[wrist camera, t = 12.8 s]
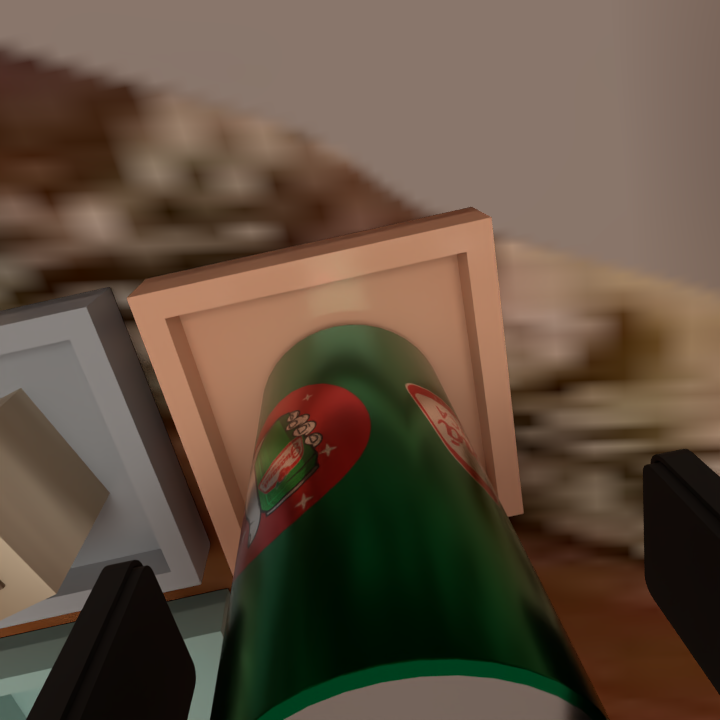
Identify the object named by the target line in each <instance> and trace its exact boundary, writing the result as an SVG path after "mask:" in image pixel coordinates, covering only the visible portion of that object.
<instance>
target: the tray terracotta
mask: <svg viewBox="0 0 720 720" xmlns="http://www.w3.org/2000/svg"><path fill="white" fill-rule="evenodd" d="M127 300H128V303H129V305H130V308H131V311H132V313H133V316H134V318H135V321H136V324H137V326H138V329H139V332H140V334H141V337H142V339H143V342H144V345H145V347H146V350H147V353H148V355H149V358H150V360H151V363H152V366H153V368H154V371H155V373H156V376H157V379H158V381H159V384H160V387H161V389H162V392H163V394H164V397H165V400H166V402H167V405H168V407H169V410H170V413H171V415H172V418H173V421H174V423H175V426H176V428H177V431H178V434H179V436H180V439H181V441H182V444H183V447H184V449H185V452H186V455H187V457H188V460H189V462H190V465H191V468H192V470H193V473H194V475H195V478H196V481H197V483H198V486H199V489H200V491H201V494H202V496H203V499H204V502H205V504H206V507H207V509H208V512H209V515H210V517H211V520H212V523H213V525H214V528H215V530H216V533H217V536H218V538H219V541H220V543H221V546H222V549H223V551H224V554H225V557H226V559H227V562H228V564H229V567H230V570H231V572H232V575H233V576H234V570H235V564H236V558H237V552H238V546H239V540H240V534H241V527H242V521H243V515H244V509H245V503H246V497H247V491H248V485H249V479H250V473H251V467H252V461H253V455H254V448H255V442H256V436H257V430H258V424H259V418H260V412H261V406H262V400H263V394H264V389H265V386H266V383H267V380H268V378H269V376H270V374H271V372H272V370H273V369H274V367H275V365H276V364H277V363H278V361H279V360H280V359H281V358H282V356H283V355H284V354H285V353H286V352H287V351H288V350H289V349H291V348H292V347H293V346H294V345H295V344H297V343H298V342H300V341H301V340H303V339H304V338H306V337H308V336H310V335H312V334H314V333H316V332H319V331H321V330H325V329H328V328H332V327H336V326H344V325H367V326H373V327H379V328H382V329H385V330H388V331H391V332H393V333H395V334H397V335H399V336H401V337H403V338H405V339H406V340H408V341H409V342H410V343H412V344H413V345H414V346H416V347H417V348H418V349H419V350H420V352H421V353H422V354H423V355H424V356H425V357H426V358H427V360H428V361H429V363H430V364H431V366H432V367H433V369H434V371H435V373H436V375H437V377H438V379H439V381H440V383H441V385H442V387H443V389H444V391H445V393H446V395H447V397H448V399H449V401H450V403H451V405H452V407H453V409H454V411H455V413H456V415H457V417H458V419H459V421H460V423H461V425H462V427H463V429H464V431H465V433H466V435H467V437H468V439H469V441H470V443H471V445H472V447H473V449H474V451H475V453H476V455H477V457H478V459H479V461H480V463H481V465H482V467H483V469H484V471H485V473H486V475H487V477H488V479H489V481H490V482H491V484H492V486H493V488H494V490H495V492H496V494H497V496H498V498H499V500H500V502H501V504H502V506H503V508H504V510H505V512H506V514H507V516H508V517H510V516H514V515H519V514H523V513H524V511H523V502H522V493H521V484H520V475H519V465H518V456H517V447H516V438H515V429H514V420H513V411H512V402H511V392H510V383H509V374H508V365H507V356H506V347H505V338H504V328H503V319H502V310H501V301H500V292H499V283H498V274H497V264H496V255H495V246H494V237H493V228H492V219H491V217H490V216H488V215H486V214H484V213H482V212H480V211H478V210H477V209H475V208H473V207H469V208H464V209H460V210H455V211H451V212H446V213H442V214H437V215H433V216H428V217H424V218H419V219H415V220H410V221H406V222H401V223H396V224H392V225H387V226H383V227H378V228H374V229H369V230H365V231H360V232H356V233H351V234H347V235H342V236H338V237H333V238H329V239H324V240H320V241H315V242H311V243H306V244H302V245H297V246H293V247H288V248H283V249H279V250H274V251H270V252H265V253H261V254H256V255H252V256H247V257H243V258H238V259H234V260H229V261H225V262H220V263H216V264H211V265H207V266H202V267H198V268H193V269H189V270H184V271H180V272H175V273H171V274H166V275H161V276H157V277H152V278H148V279H145V280H144V281H143V282H142V283H141V284H140V285H139V286H138V287H137V288H136V289H135V290H134V291H133V292H132V293H131V294H130V295H129V296H128V297H127Z"/></svg>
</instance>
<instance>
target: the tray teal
mask: <svg viewBox="0 0 720 720" xmlns="http://www.w3.org/2000/svg"><path fill="white" fill-rule="evenodd" d="M229 600H230V592H229V590H228V589H223V590H219V591H214V592H210V593H205V594H201V595H196V596H191V597H187V598H182V599H178V600H173V601H169V602H167V604H168V606H169V608H170V610H171V613H172V615H173V617H174V619H175V622H176V624H177V626H178V629H179V631H180V633H181V635H182V638H183V640H184V642H185V644H186V647H187V649H188V651H189V654H190V656H191V658H192V660H193V663H194V666H195V670H196V684H195V689H194V694H193V698H192V702H191V706H190V711H189V715H188V719H187V720H210V716H211V710H212V704H213V697H214V691H215V685H216V679H217V673H218V667H219V661H220V655H221V649H222V643H223V637H224V631H225V625H226V619H227V612H228V606H229ZM74 624H75V622H73V623H68V624H64V625H59V626H55V627H50V628H46V629H41V630H37V631H32V632H28V633H23V634H18V635H14V636H9V637H5V638H0V720H26V718H27V716H28V714H29V712H30V711H31V709H32V707H33V705H34V703H35V701H36V699H37V697H38V695H39V693H40V691H41V689H42V687H43V685H44V683H45V681H46V679H47V677H48V675H49V673H50V671H51V669H52V667H53V665H54V663H55V661H56V659H57V657H58V655H59V654H60V652H61V650H62V648H63V646H64V644H65V642H66V640H67V638H68V636H69V634H70V632H71V630H72V628H73V626H74Z"/></svg>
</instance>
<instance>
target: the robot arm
mask: <svg viewBox="0 0 720 720" xmlns="http://www.w3.org/2000/svg"><path fill="white" fill-rule="evenodd" d="M643 504H644V564H645V580H646V584H647V587H648V590H649V592H650V594H651V596H652V597H653V599H654V600H655V602H656V603H657V605H658V606H659V607H660V609H661V610H662V612H663V613H664V615H665V616H666V618H667V619H668V621H669V622H670V623H671V625H672V626H673V628H674V629H675V631H676V632H677V634H678V635H679V636H680V638H681V639H682V641H683V642H684V644H685V645H686V647H687V648H688V650H689V651H690V652H691V654H692V655H693V657H694V658H695V660H696V661H697V663H698V664H699V665H700V667H701V668H702V670H703V671H704V673H705V674H706V676H707V677H708V679H709V680H710V681H711V683H712V684H713V686H714V687H715V689H716V690H717V692H718V693H719V694H720V477H719V476H718V475H717V474H716V473H715V472H714V471H713V470H711V469H710V468H709V467H708V466H707V465H706V464H705V463H704V462H703V461H701V460H700V459H699V458H698V457H697V456H696V455H695V454H694V453H692V452H691V451H689V450H688V449H681V450H676V451H671V452H666V453H661V454H656V455H654V456H653V457H652V459H651V464H648V465H645V466H644V468H643ZM195 684H196V670H195V666H194V663H193V660H192V658H191V656H190V654H189V651H188V649H187V647H186V644H185V642H184V640H183V638H182V635H181V633H180V631H179V629H178V626H177V624H176V622H175V619H174V617H173V615H172V613H171V610H170V608H169V606H168V604H167V601H166V599H165V597H164V594H163V592H162V590H161V588H160V585H159V583H158V581H157V579H156V576H155V574H154V572H153V570H152V568H151V567H150V566H148V565H146V566H143V565H142V563H141V562H140V561H139V560H131V561H126V562H121V563H116V564H111V565H107V566H105V567H104V568H103V570H102V571H101V573H100V575H99V577H98V579H97V581H96V583H95V585H94V587H93V589H92V591H91V593H90V595H89V597H88V598H87V600H86V602H85V604H84V606H83V608H82V610H81V612H80V614H79V616H78V618H77V620H76V622H75V624H74V626H73V628H72V630H71V632H70V634H69V636H68V638H67V640H66V642H65V644H64V646H63V648H62V650H61V652H60V654H59V655H58V657H57V659H56V661H55V663H54V665H53V667H52V669H51V671H50V673H49V675H48V677H47V679H46V681H45V683H44V685H43V687H42V689H41V691H40V693H39V695H38V697H37V699H36V701H35V703H34V705H33V707H32V709H31V711H30V712H29V714H28V716H27V718H26V720H187V719H188V715H189V711H190V706H191V702H192V698H193V694H194V689H195Z"/></svg>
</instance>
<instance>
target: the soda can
mask: <svg viewBox="0 0 720 720" xmlns="http://www.w3.org/2000/svg"><path fill="white" fill-rule="evenodd" d="M210 720H610V719H609V717H608V715H607V713H606V711H605V709H604V707H603V705H602V703H601V701H600V699H599V697H598V695H597V693H596V691H595V689H594V687H593V685H592V683H591V681H590V679H589V677H588V675H587V673H586V671H585V669H584V667H583V665H582V663H581V661H580V659H579V657H578V655H577V653H576V651H575V649H574V647H573V645H572V643H571V642H570V640H569V638H568V636H567V634H566V632H565V630H564V628H563V626H562V624H561V622H560V620H559V618H558V616H557V614H556V612H555V610H554V608H553V606H552V604H551V602H550V600H549V598H548V596H547V594H546V592H545V590H544V588H543V586H542V584H541V582H540V580H539V578H538V576H537V574H536V572H535V570H534V568H533V566H532V564H531V562H530V560H529V558H528V556H527V554H526V552H525V550H524V548H523V546H522V544H521V542H520V540H519V538H518V536H517V534H516V532H515V530H514V528H513V526H512V524H511V522H510V520H509V518H508V516H507V514H506V512H505V510H504V508H503V506H502V504H501V502H500V500H499V498H498V496H497V494H496V492H495V490H494V488H493V486H492V484H491V482H490V481H489V479H488V477H487V475H486V473H485V471H484V469H483V467H482V465H481V463H480V461H479V459H478V457H477V455H476V453H475V451H474V449H473V447H472V445H471V443H470V441H469V439H468V437H467V435H466V433H465V431H464V429H463V427H462V425H461V423H460V421H459V419H458V417H457V415H456V413H455V411H454V409H453V407H452V405H451V403H450V401H449V399H448V397H447V395H446V393H445V391H444V389H443V387H442V385H441V383H440V381H439V379H438V377H437V375H436V373H435V371H434V369H433V367H432V366H431V364H430V363H429V361H428V360H427V358H426V357H425V356H424V355H423V354H422V353H421V352H420V350H419V349H418V348H417V347H416V346H414V345H413V344H412V343H410V342H409V341H408V340H406V339H405V338H403V337H401V336H399V335H397V334H395V333H393V332H391V331H388V330H385V329H382V328H379V327H373V326H367V325H344V326H336V327H332V328H328V329H325V330H321V331H319V332H316V333H314V334H312V335H310V336H308V337H306V338H304V339H303V340H301V341H300V342H298V343H297V344H295V345H294V346H293V347H292V348H291V349H289V350H288V351H287V352H286V353H285V354H284V355H283V356H282V358H281V359H280V360H279V361H278V363H277V364H276V365H275V367H274V369H273V370H272V372H271V374H270V376H269V378H268V380H267V383H266V386H265V389H264V394H263V400H262V406H261V412H260V418H259V424H258V430H257V436H256V442H255V448H254V455H253V461H252V467H251V473H250V479H249V485H248V491H247V497H246V503H245V509H244V515H243V521H242V527H241V534H240V540H239V546H238V552H237V558H236V564H235V570H234V576H233V582H232V588H231V594H230V600H229V606H228V612H227V619H226V625H225V631H224V637H223V643H222V649H221V655H220V661H219V667H218V673H217V679H216V685H215V691H214V697H213V704H212V710H211V716H210Z"/></svg>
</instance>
